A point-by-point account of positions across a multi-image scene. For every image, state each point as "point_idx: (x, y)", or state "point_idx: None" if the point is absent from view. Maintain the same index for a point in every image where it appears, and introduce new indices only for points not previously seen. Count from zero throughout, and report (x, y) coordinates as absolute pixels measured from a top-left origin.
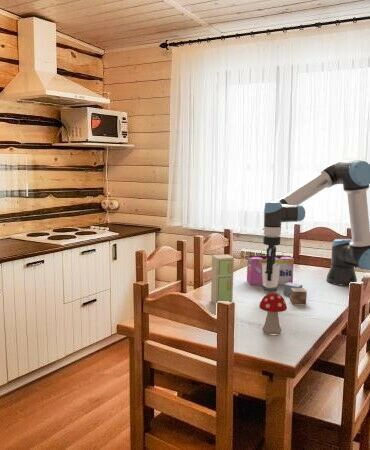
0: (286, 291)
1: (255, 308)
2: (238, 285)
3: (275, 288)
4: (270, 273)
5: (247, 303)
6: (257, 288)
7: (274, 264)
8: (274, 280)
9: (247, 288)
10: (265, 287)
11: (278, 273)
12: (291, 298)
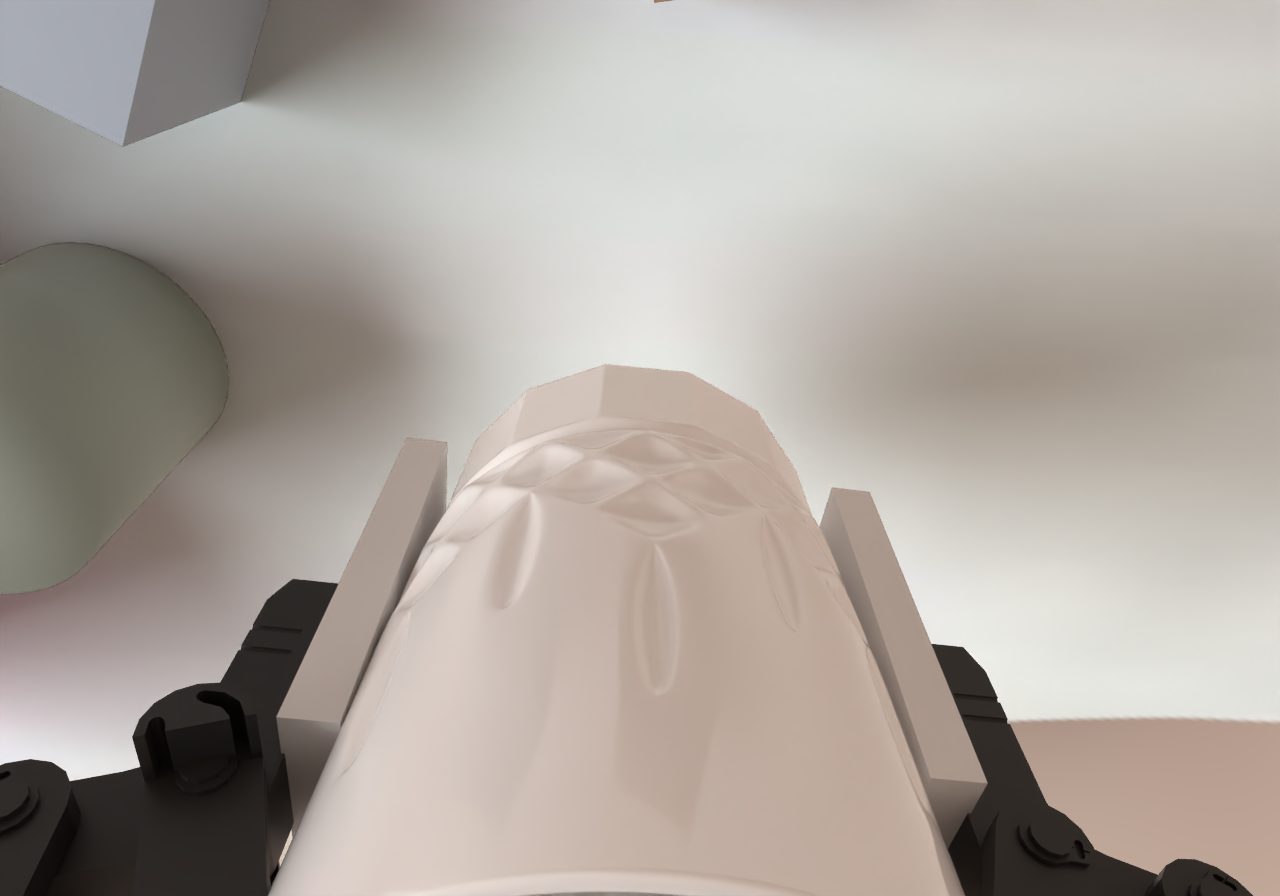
0: (227, 49)
1: (1159, 566)
2: (114, 751)
3: (114, 287)
4: (1141, 873)
5: None
6: (117, 540)
7: None
8: (826, 551)
9: (201, 658)
10: (174, 467)
11: (757, 594)
12: None
